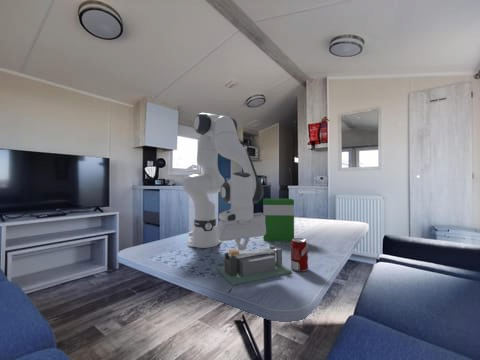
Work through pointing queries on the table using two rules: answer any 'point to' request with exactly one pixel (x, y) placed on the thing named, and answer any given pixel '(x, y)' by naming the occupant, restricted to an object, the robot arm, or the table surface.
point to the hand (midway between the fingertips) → (242, 249)
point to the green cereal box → (279, 219)
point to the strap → (250, 252)
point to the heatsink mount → (253, 267)
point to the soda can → (299, 254)
